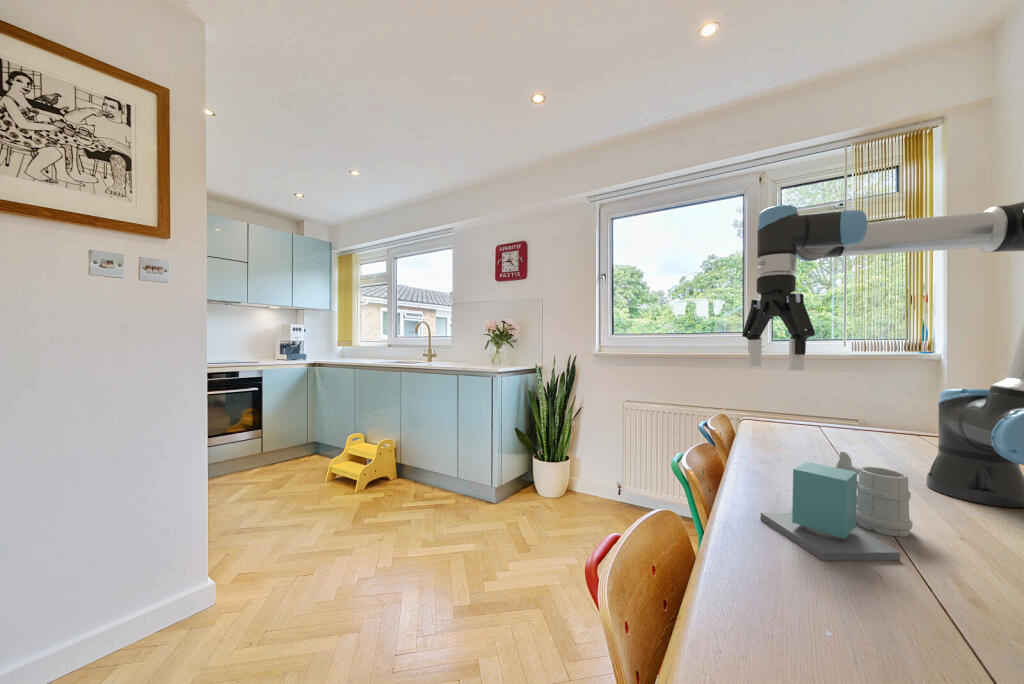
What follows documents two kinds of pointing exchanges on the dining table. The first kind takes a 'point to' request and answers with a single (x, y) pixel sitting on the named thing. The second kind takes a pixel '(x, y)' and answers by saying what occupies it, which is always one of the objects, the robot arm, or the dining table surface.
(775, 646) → the dining table surface
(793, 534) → the post board
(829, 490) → the teal block
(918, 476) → the dining table surface
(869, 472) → the mug
